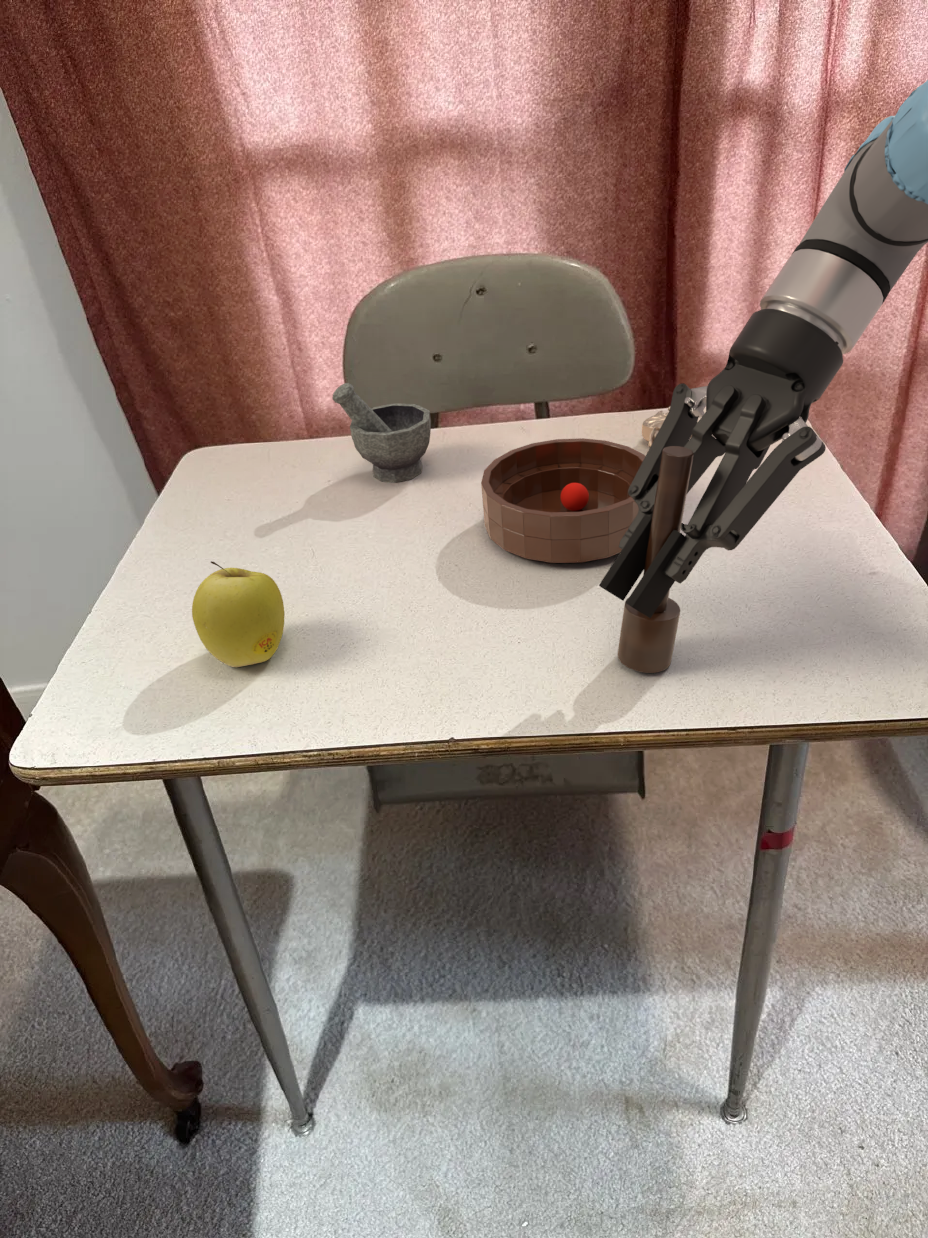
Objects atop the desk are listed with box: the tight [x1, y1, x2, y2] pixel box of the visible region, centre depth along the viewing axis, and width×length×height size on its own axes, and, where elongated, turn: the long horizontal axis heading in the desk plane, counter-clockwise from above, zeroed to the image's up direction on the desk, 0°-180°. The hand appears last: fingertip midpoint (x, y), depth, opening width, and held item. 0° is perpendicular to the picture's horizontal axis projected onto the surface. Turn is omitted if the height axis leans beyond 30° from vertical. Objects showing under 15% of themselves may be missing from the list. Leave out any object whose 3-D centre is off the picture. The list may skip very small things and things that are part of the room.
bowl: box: [480, 437, 646, 564], centre depth 87 cm, size 18×18×6 cm
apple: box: [191, 561, 286, 668], centre depth 73 cm, size 8×8×10 cm
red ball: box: [561, 483, 589, 511], centre depth 89 cm, size 3×3×3 cm
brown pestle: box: [617, 446, 694, 674], centre depth 65 cm, size 4×4×18 cm
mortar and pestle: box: [332, 382, 432, 483], centre depth 100 cm, size 11×9×12 cm
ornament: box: [641, 405, 698, 448], centre depth 102 cm, size 8×7×4 cm
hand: (624, 601), depth 65 cm, fingers open, 2 cm apart
